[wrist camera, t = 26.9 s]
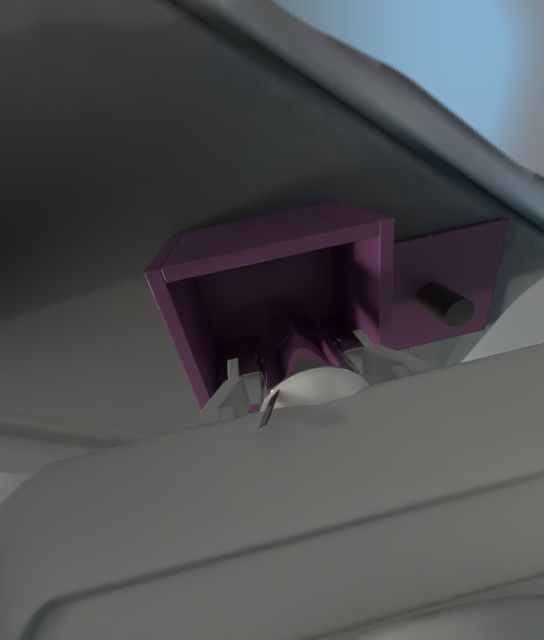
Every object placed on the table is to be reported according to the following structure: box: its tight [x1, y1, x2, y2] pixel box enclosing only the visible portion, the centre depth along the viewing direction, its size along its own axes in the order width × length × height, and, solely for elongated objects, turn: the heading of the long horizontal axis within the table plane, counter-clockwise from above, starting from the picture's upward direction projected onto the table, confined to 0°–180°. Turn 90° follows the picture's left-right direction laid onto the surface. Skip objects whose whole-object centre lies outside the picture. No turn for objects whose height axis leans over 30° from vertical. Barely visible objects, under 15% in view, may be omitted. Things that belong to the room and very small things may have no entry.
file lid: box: [391, 218, 509, 350], centre depth 25 cm, size 13×11×5 cm
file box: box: [144, 200, 395, 413], centre depth 20 cm, size 13×11×9 cm
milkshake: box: [256, 296, 370, 434], centre depth 13 cm, size 4×5×10 cm
